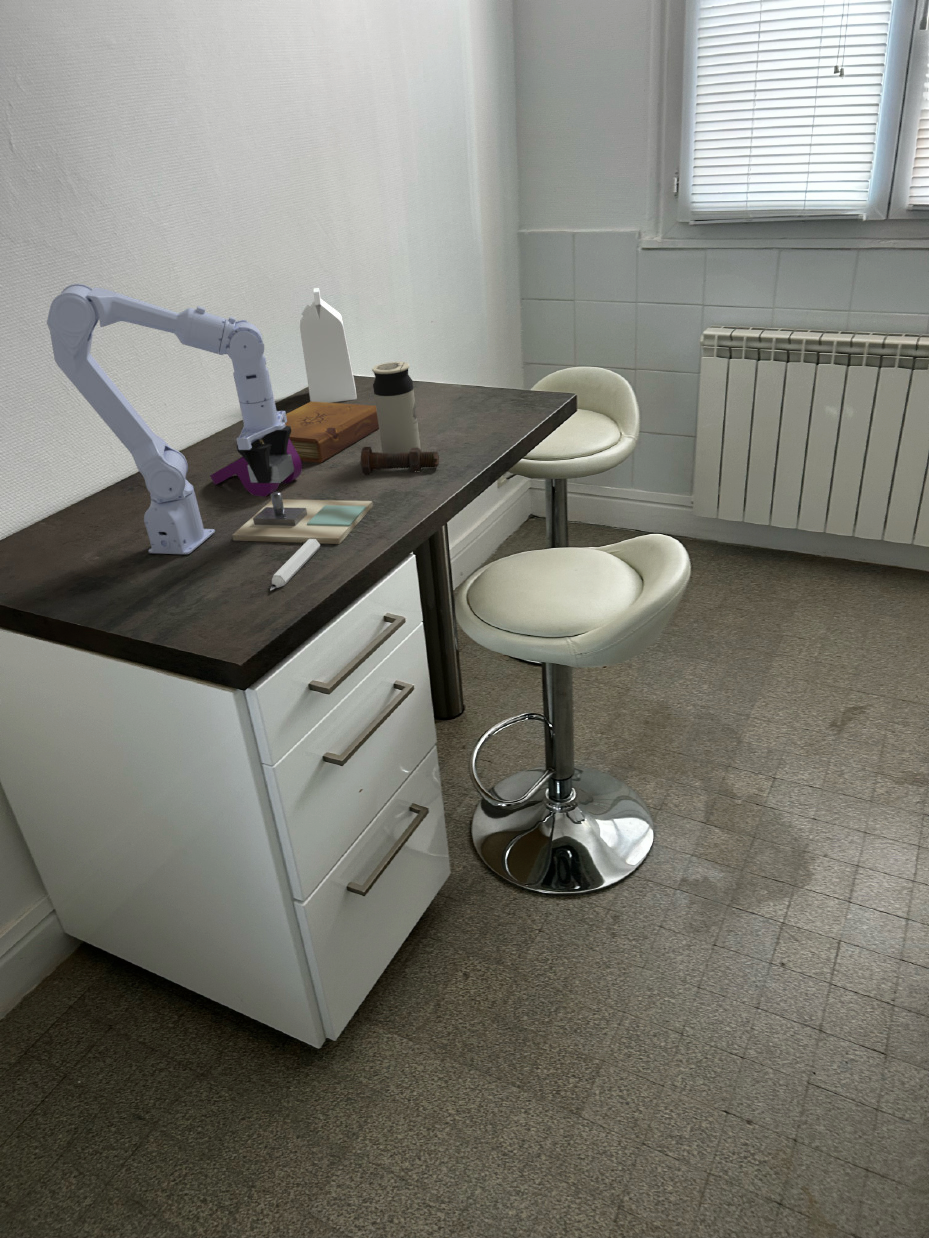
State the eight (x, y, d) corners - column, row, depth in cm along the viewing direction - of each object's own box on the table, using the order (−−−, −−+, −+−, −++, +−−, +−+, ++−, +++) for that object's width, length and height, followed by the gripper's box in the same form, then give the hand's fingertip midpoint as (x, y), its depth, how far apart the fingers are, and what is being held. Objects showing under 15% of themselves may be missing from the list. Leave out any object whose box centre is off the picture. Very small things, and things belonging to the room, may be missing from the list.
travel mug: (377, 459, 188) (365, 372, 180) (389, 446, 195) (377, 361, 186) (414, 459, 186) (403, 371, 178) (425, 446, 193) (415, 360, 184)
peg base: (295, 525, 159) (290, 499, 157) (254, 524, 161) (248, 498, 159) (307, 514, 163) (302, 488, 161) (267, 513, 166) (261, 487, 163)
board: (339, 543, 153) (338, 536, 153) (233, 540, 159) (231, 533, 158) (372, 506, 166) (371, 499, 166) (273, 504, 172) (272, 497, 171)
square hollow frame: (280, 482, 155) (277, 466, 154) (250, 482, 157) (247, 465, 155) (294, 470, 160) (291, 454, 159) (265, 470, 162) (262, 454, 160)
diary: (323, 466, 190) (318, 439, 187) (253, 458, 199) (247, 433, 196) (382, 429, 207) (378, 405, 204) (315, 424, 216) (310, 400, 213)
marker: (271, 600, 140) (313, 553, 153) (280, 594, 139) (322, 547, 152) (260, 586, 139) (304, 540, 152) (269, 581, 138) (312, 535, 151)
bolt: (439, 479, 181) (364, 480, 183) (440, 459, 184) (367, 461, 185) (435, 459, 176) (359, 461, 178) (437, 439, 179) (361, 441, 180)
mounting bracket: (223, 517, 185) (277, 489, 173) (201, 480, 183) (254, 449, 171) (253, 500, 192) (308, 472, 180) (232, 464, 190) (286, 433, 178)
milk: (356, 399, 230) (340, 291, 217) (311, 405, 229) (291, 297, 216) (355, 386, 240) (339, 283, 227) (311, 392, 239) (293, 288, 227)
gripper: (258, 411, 145) (274, 492, 151) (296, 385, 157) (310, 461, 163) (218, 412, 147) (236, 491, 153) (259, 386, 159) (274, 460, 165)
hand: (272, 475), depth 158 cm, fingers closed on square hollow frame, 6 cm apart
